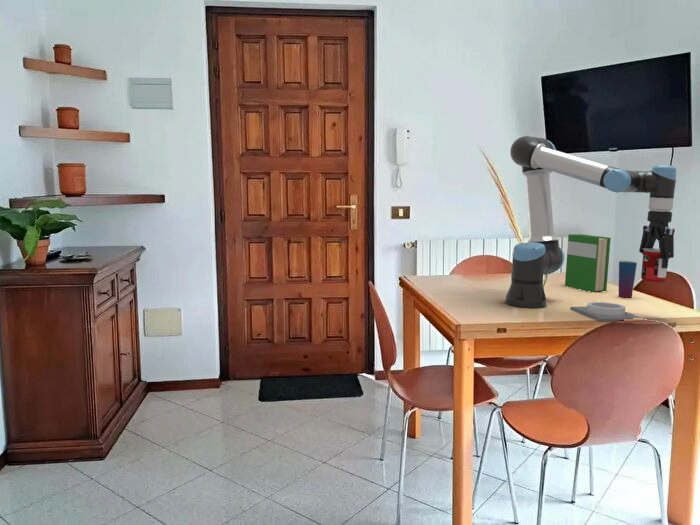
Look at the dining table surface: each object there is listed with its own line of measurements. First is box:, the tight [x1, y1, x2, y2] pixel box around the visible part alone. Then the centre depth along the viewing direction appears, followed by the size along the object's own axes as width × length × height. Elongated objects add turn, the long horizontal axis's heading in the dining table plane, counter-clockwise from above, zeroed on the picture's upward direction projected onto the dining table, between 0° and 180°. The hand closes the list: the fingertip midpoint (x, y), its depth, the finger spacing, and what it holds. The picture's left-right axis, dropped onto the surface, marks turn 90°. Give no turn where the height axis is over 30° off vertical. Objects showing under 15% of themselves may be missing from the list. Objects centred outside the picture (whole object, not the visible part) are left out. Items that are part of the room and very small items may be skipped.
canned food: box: [640, 247, 668, 283], centre depth 211 cm, size 8×8×11 cm
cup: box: [618, 260, 638, 299], centre depth 251 cm, size 7×7×15 cm
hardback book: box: [564, 233, 611, 293], centre depth 270 cm, size 18×7×24 cm, turn 22°
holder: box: [569, 301, 643, 322], centre depth 215 cm, size 16×20×4 cm
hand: (653, 275), depth 212 cm, fingers closed on canned food, 8 cm apart
